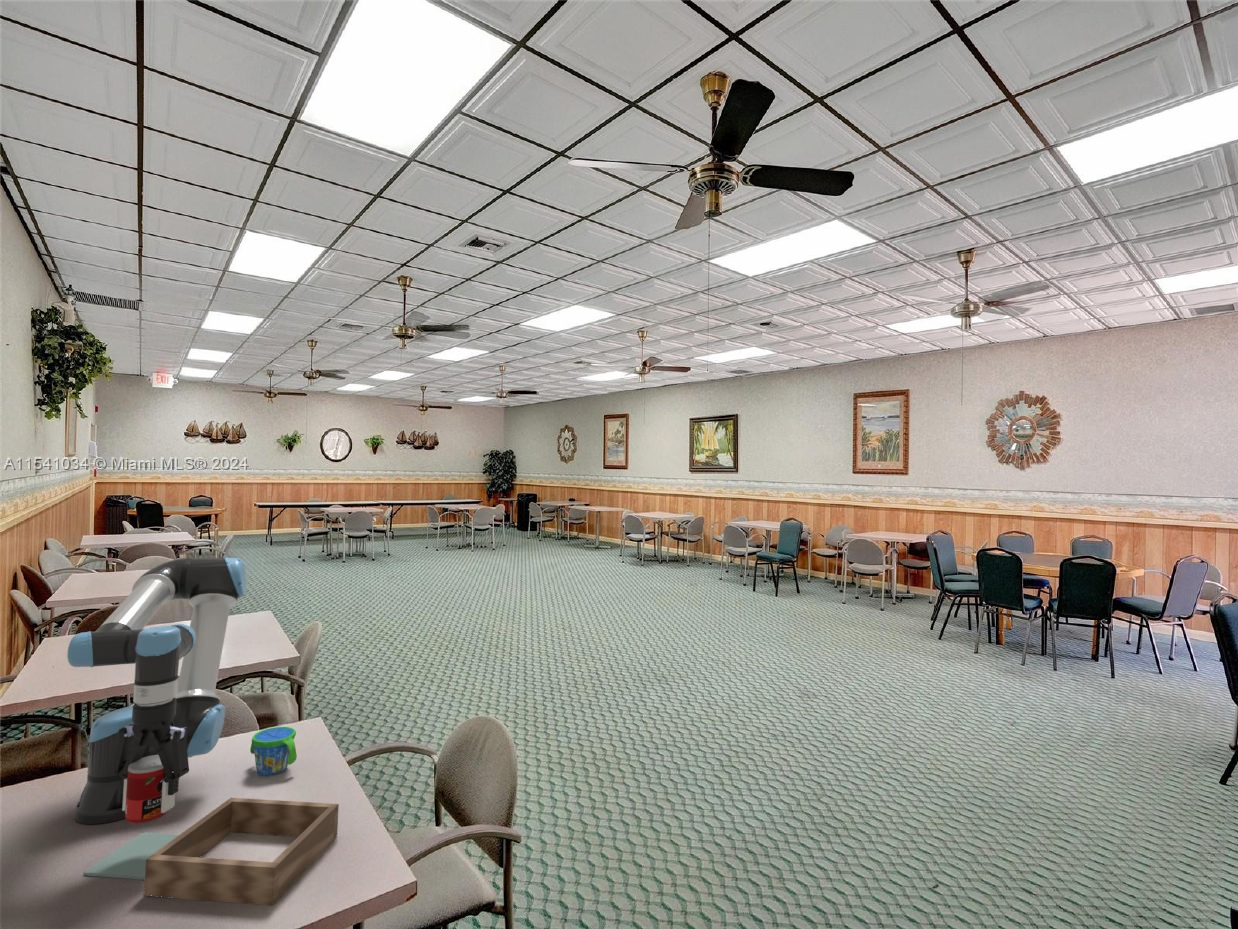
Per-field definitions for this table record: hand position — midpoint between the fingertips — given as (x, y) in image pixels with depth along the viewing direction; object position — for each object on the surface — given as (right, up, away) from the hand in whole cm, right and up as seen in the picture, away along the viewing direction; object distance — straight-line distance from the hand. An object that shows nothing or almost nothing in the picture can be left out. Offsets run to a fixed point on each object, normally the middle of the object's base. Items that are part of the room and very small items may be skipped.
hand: (148, 808), depth 126 cm
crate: (+23, -11, -2) cm, 25 cm away
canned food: (0, -1, 0) cm, 1 cm away
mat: (0, -10, 0) cm, 10 cm away
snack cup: (+4, -12, +38) cm, 41 cm away
